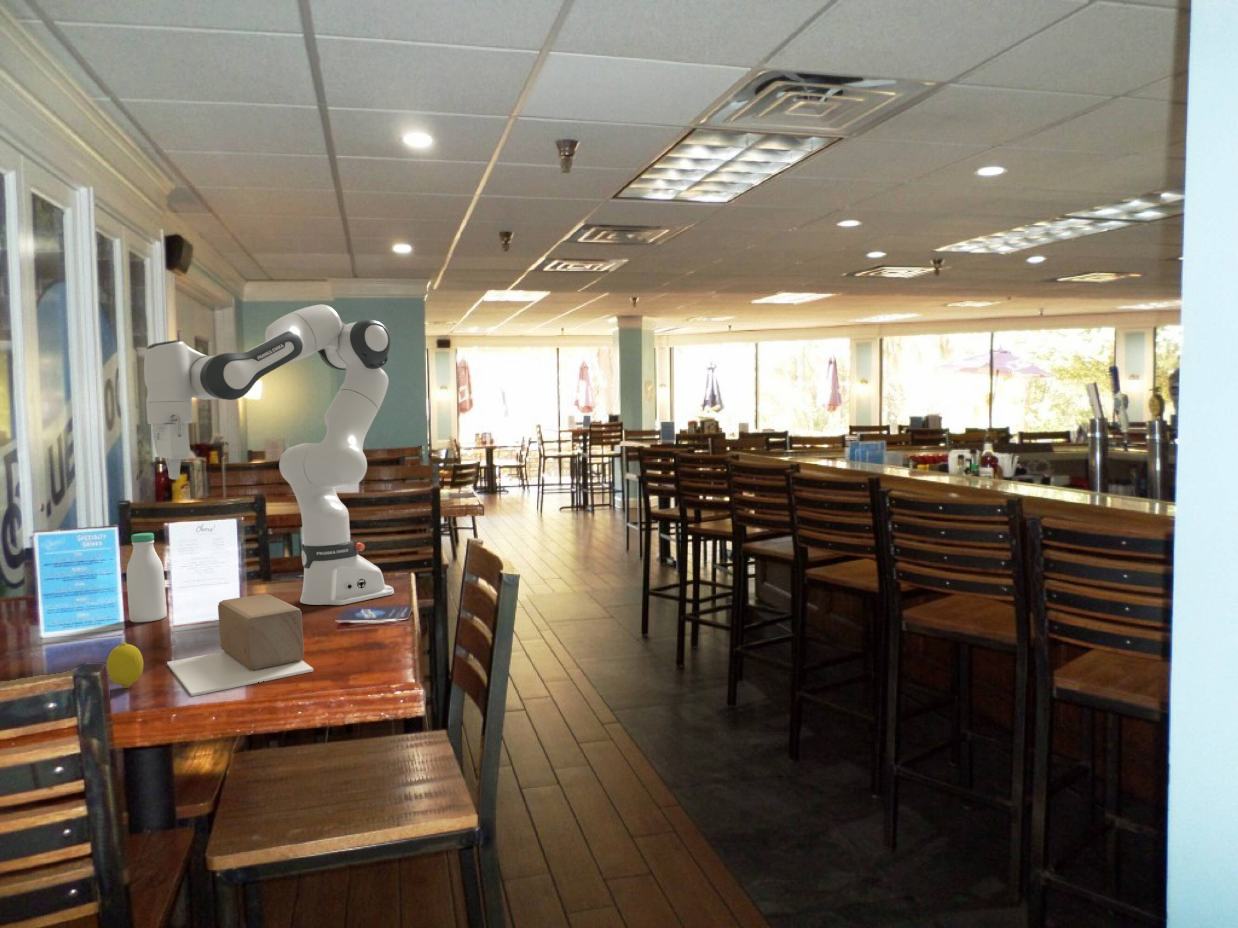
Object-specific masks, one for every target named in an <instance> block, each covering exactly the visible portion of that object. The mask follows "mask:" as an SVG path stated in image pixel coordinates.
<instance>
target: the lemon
mask: <svg viewBox="0 0 1238 928" xmlns="http://www.w3.org/2000/svg"><path fill="white" fill-rule="evenodd" d="M107 656H108V657H107V660H106V669H107V668H108V673H107V675H108V674H109V676H108V679H109V680H110V681H111V682H112V683H114V684H115V685H118V686H122V687H123V688H125V689H128V688H130V687H131V685H132V684H134V683H135V682H137V681H138V680H139V679H140V678H141V676H142V673H143V671H144V658H143V655H142V653H141V651H140V650H139V648H138V647H136V646H135V645H133V644H130V643H127V642H121V643H120V644H119V645H117V646H116V647H114V648H113V649H112V650H111V651H110V653H109V654H108V655H107Z"/></svg>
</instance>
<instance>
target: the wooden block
mask: <svg viewBox="0 0 1238 928" xmlns="http://www.w3.org/2000/svg"><path fill="white" fill-rule="evenodd" d="M217 610H218V611H217V612H218V613H217V614H218V629H219V642H220V643H219V644H220V648H221V650H222V652H224V651H225V652H226V653H228V654H229V655H230V656H232V657H233V658H235V659H236V660H237V661H239V662H240V663H242V664H243V665H244V666H246V667H247V668H249V669H250V670H258V669H263V668H268V667H272V666H277V665H282V664H287V663H291V662H296V661H300V660H303V659H304V656H305V650H304V647H305V646H304V631H303V616H302V614H303V613H302V611H301V609H300V608H299V607H296V606H294V605H292V604H290V603H289V602H285V601H284V600H282V599H280V598H277V597H275V596H273V595H271V594H268V593H261V594H256V595H255V594H254V595H253V594H252V595H248V596H241V597H235V598H229V599H224V600H221V601H220V602H218V605H217Z"/></svg>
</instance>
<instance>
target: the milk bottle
mask: <svg viewBox="0 0 1238 928" xmlns="http://www.w3.org/2000/svg"><path fill="white" fill-rule="evenodd" d="M130 538H131V545H132V553H131V555H130V558H129V560H128V563H127V567H126V590H127V602H128V605H127V606H128V615H129V616H128V618H129V621H130V622H131V623H148V622H154V621H155V622H156V621H159V620H163V619H164V618H166V617H167V615H168V610H167V609H168V607H167V595H166V594H167V592H166V582H165V571H164V565H163V563H162V560H161V558H160V557H159V555H158V554H157V552H156V549H155V546H154V543H155V534H154V533H153V532H141V533H133V534H132V535H131V537H130Z"/></svg>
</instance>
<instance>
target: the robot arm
mask: <svg viewBox="0 0 1238 928" xmlns="http://www.w3.org/2000/svg"><path fill="white" fill-rule="evenodd" d="M264 340H265V341H264V342H262V343H260V344H258V345H257V346H254V347H252V348H250V349H248V350H246V351H244V352H241V353H239V352H228V353H227V352H226V353H221V354H217V355H211V356H208V355H206V354H204V353H201V352H199V351H197V350H195V349H193V348H192V347H190V346H188V345H187V344H186V343H185V342H184V341H183V340H177V339H176V340H174V339H173V340H168V341H162V342H156V343H155V342H154V343H151V344H150V345H148V346H147V348H146V349H145V352H144V360H143V361H144V362H143V373H144V374H143V375H144V385H145V386H146V387H145V388H146V389H147V394H146V400H145V402H146V403H145V404H146V407H145V408H146V416H147V419H146V420H147V425H151V428H152V429H151V430H152V437H153V438H152V439H153V443H154V448H155V449H154V450H155V453H156V455H157V457H158V458H164V459H165V462H166V467H167V471H168V478H169V479H170V480H179V479H180V478H181V467H182V466H181V465H182V463H181V460H184V459H185V460H186V459H190V457H191V448H190V439H189V438H190V437H189V429H188V424H189V423H190V424H191V423H193V422H194V416H193V402H192V401H193V398H195V399H197V400H201V401H204V400H205V401H208V400H227V401H228V400H229V401H233V400H237V399H240V398H242V397H244V396H245V395H247V394H248V393H249V391H250V390H251V389H252V388H253V386H254V385H255V384H256V383H257V381H259V379H261V378H262V377H264V376H265V375H267V374H269V373H270V372H273V371H274V370H276V369H278V368H279V367H281V366H283V365H285V364H290V363H294V362H298V361H300V360H303V359H305V358H308V357H310V356H312V355H313V354H315V353H318V355H319V357H320V359H321V360H322V361H323V363H325V364H326V366H327V367H329V368H331V369H333V370H338V371H345V378H344V381H343V383H342V384H341V386H340V387H339V389H338V391H337V393H336V395H335V396H334V398H333V399H332V401H331V403H330V405H329V407H328V408H327V410H326V412H325V414H324V418H323V419H324V420H323V421H324V424H325V426H326V427H327V429H326V434H325V436H324V439H323V440H321V442H308V443H307V442H304V443H299V444H297V445H294V446H290V447H288V448H286V449H285V450H284V451H283V453H281V455H280V459H279V463H278V465H279V466H278V467H279V472H280V475H281V476H282V478H283V479H284V480H285V481H286V482H287V483H288V484H289V486H290V487H291V490H292V491H293V494H294V496H295V499H296V501H297V504H298V507H299V511H300V516H301V527H302V539H303V540H302V541H303V544H302V545H301V562H302V566H303V582H302V584H303V585H302V590H301V596H300V599H299V602H300V603H301V604H305V605H312V606H313V605H315V606H316V605H317V606H318V605H319V606H322V605H331V606H343V605H347V604H354V603H359V602H363V601H367V600H371V599H377V598H381V597H386V596H390V595H391V596H392V595H393V594H394V593H395V590H394V589H395V588H394V587H393V586H391V585H388V584H385V579H384V576H383V572H382V570H381V568H379V566H378V565H375V564H374V563H372V562H371V561H369V560H367V559H366V558H364V557H363V556H361V555H359V552H363V551H364V550H365V548H366V546H365V544H364V543H363V542H359V541H358V542H355V541H353V540H351V529H350V513H349V510H348V507H346V505H345V504H344V503H343V502H342V501H341V500H340V498H339V496H338V494H337V491H336V489H341V488H346V487H351V486H353V485H357V484H358V483H360V482H362V480H363V479H364V478H365V475H366V474H367V470H368V462H367V457H366V455H365V453H364V450H363V449H364V443H365V442H364V441H365V438H366V436H367V434H368V432H369V429H370V428H371V426H372V424H373V422H374V420H375V418H376V416H377V414H378V412H379V411H380V408H381V406H382V404H383V401H384V399H385V396H386V394H387V390H388V387H389V382H390V381H389V377H388V375H387V373H386V372H385V371H384V369H382V368H383V366H385V364H387V362H388V354H389V351H390V348H391V336H390V332H389V330H388V328H387V327H386V326H385V325H384V324H383V323H382V322H380V321H377V320H375V319H361V320H358V321H355V322H350V323H347V324H346V323H344V322H343V321H342V320H341V317H340V315H339V314H338V312H337V311H336V310H335V309H334V308H333V307H331V306H330V305H327V304H321V303H320V304H316V305H310V306H306V307H303V308H300V309H297V310H295V311H292V312H289V313H287V314H285V315H283V316H281V317H279V318H278V319H276V320H275V321H273V322H272V323H270V324H269V325H268V326H267V327H266V330H265V334H264Z"/></svg>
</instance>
